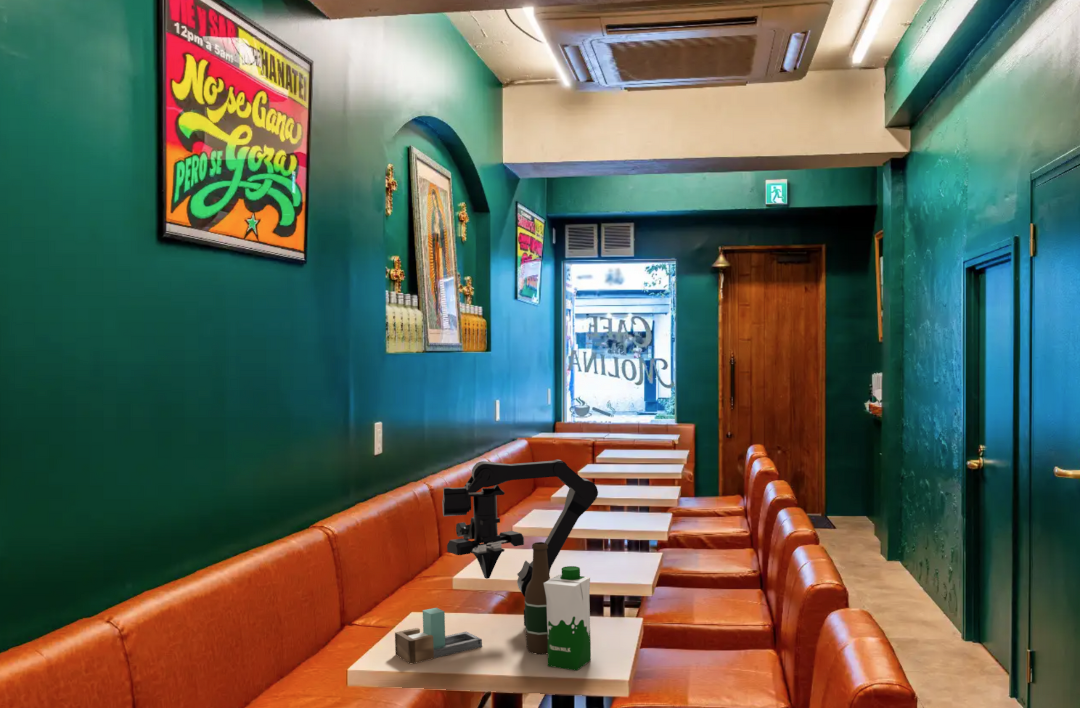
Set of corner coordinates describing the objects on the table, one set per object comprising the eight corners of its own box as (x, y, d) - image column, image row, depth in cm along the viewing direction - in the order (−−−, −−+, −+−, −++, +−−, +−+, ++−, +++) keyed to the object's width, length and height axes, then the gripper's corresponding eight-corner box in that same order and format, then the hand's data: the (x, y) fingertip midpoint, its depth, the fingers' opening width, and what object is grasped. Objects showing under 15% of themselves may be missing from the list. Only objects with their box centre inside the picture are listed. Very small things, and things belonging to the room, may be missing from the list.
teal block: (437, 646, 201) (436, 607, 202) (445, 651, 198) (444, 611, 198) (405, 654, 197) (404, 613, 197) (413, 658, 194) (412, 617, 194)
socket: (418, 649, 201) (417, 627, 201) (433, 658, 194) (433, 636, 194) (395, 654, 198) (394, 632, 198) (410, 664, 191) (410, 641, 191)
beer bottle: (556, 655, 194) (553, 547, 194) (522, 654, 195) (519, 546, 196) (562, 644, 202) (559, 539, 202) (529, 643, 203) (526, 539, 203)
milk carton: (596, 659, 191) (593, 567, 191) (578, 673, 183) (575, 577, 183) (560, 654, 195) (557, 564, 195) (541, 667, 187) (538, 573, 187)
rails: (466, 639, 208) (466, 631, 208) (482, 646, 201) (481, 639, 201) (418, 649, 201) (418, 641, 201) (433, 658, 194) (433, 650, 194)
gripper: (501, 505, 225) (502, 566, 225) (435, 514, 214) (437, 578, 214) (524, 511, 216) (526, 574, 215) (457, 520, 205) (459, 587, 205)
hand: (487, 578), depth 213 cm, fingers closed
